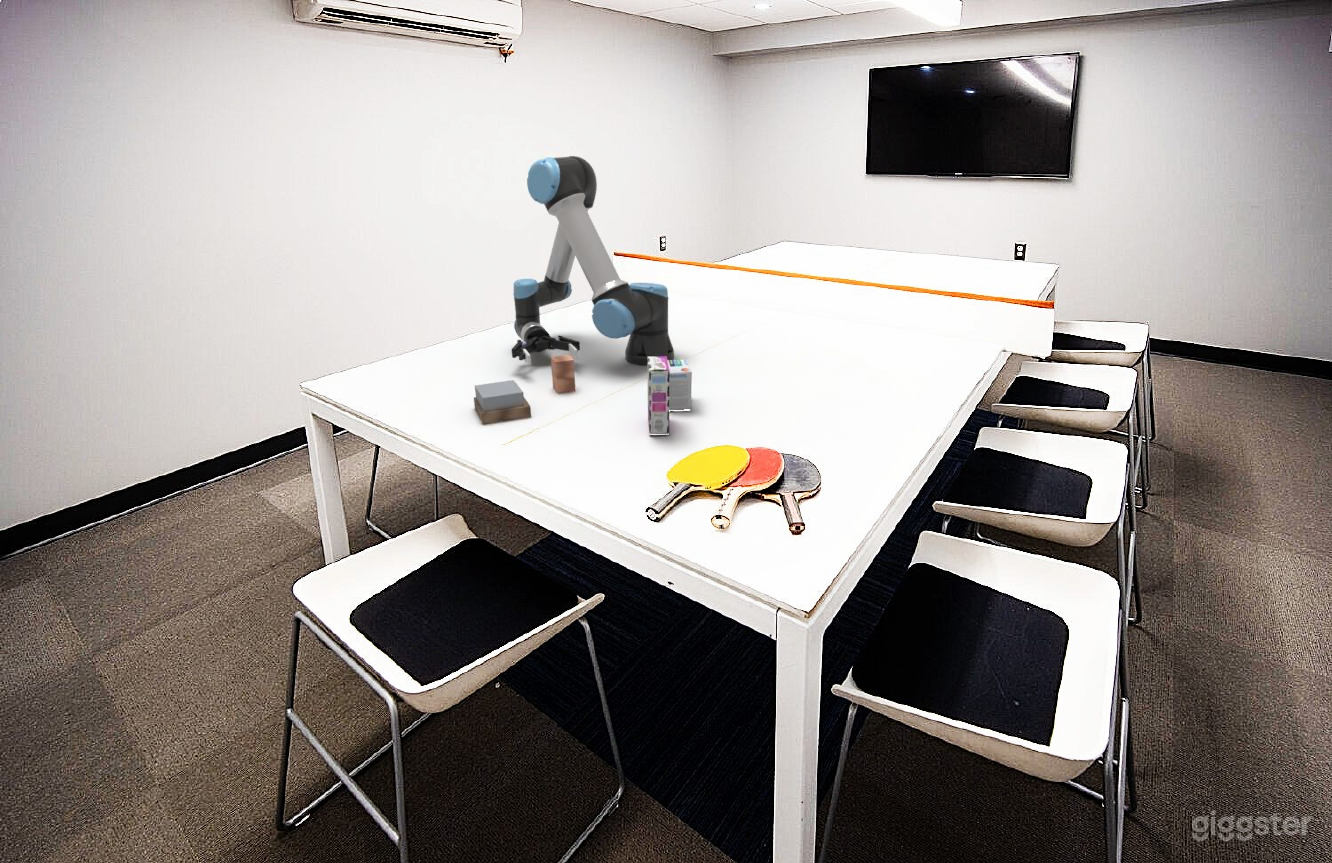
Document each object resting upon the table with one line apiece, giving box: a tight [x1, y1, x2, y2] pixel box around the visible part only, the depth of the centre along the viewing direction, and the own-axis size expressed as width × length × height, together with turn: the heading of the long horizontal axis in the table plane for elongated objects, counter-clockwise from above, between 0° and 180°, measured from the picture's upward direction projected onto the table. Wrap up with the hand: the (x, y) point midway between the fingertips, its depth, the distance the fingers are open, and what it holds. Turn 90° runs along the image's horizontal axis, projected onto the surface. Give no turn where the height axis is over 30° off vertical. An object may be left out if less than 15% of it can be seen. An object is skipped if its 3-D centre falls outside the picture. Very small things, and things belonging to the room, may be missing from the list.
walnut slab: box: [473, 396, 532, 425], centre depth 186 cm, size 12×12×4 cm
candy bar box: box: [647, 356, 670, 434], centre depth 173 cm, size 11×5×16 cm, turn 3°
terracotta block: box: [550, 354, 576, 395], centre depth 200 cm, size 5×5×9 cm
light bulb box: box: [668, 358, 693, 410], centre depth 188 cm, size 11×7×11 cm, turn 5°
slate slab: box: [474, 379, 525, 411], centre depth 184 cm, size 10×10×4 cm
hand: (553, 357), depth 207 cm, fingers open, 13 cm apart
